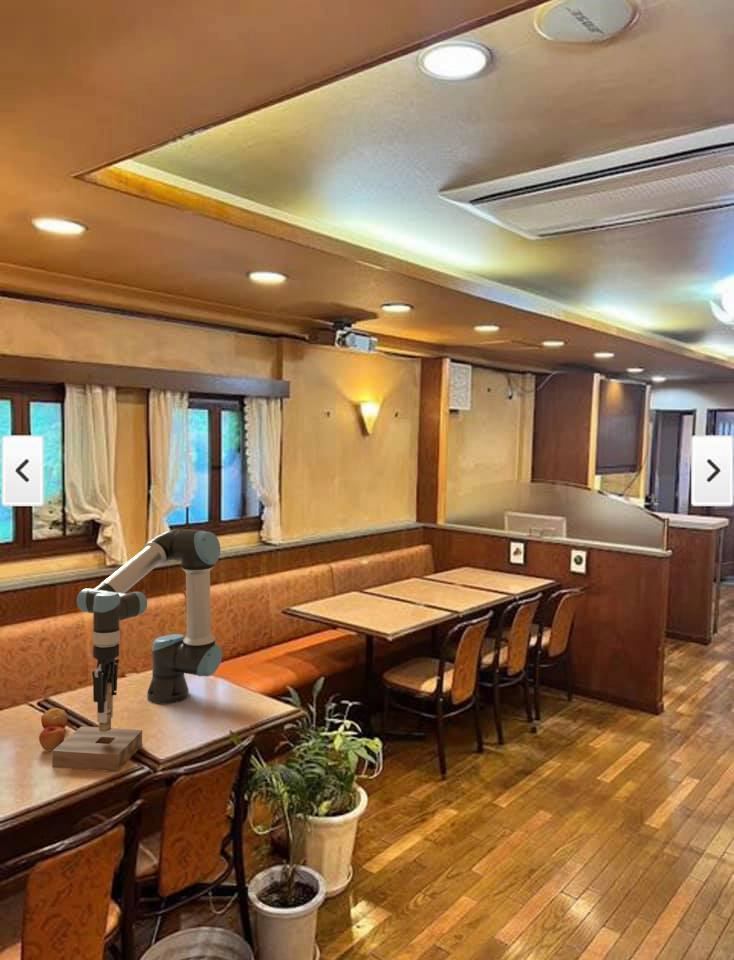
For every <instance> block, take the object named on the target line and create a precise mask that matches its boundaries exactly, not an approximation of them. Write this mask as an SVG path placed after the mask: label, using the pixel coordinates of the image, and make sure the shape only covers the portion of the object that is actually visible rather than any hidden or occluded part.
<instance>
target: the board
mask: <svg viewBox="0 0 734 960" xmlns="http://www.w3.org/2000/svg"><path fill="white" fill-rule="evenodd" d="M142 746H143V729H134V728H133V729H131V728H129V729H128V728H118V727H117V728H115V727H111V730H109V731H105V732H102V731H99V727H98V726H85V725H84V726H83V725H82V726H80V727H79V728H78V729H77V730H76V731H74V732H73V733H72V734H71V735H70V736H68V737H67V738H66V739H64V741H63V742H62V743H61V744H60V745H59V746H57V747H56V748H55V749H54V750H51V751H52V753H51V754H52V755H51V757H52V758H51V760H52V762H51V767H52V768H56V769H57V768H58V769H71V768H74V770H86V769H91V770H90V771H101V770H106V772H116V773H118V772H119V771H121V769H122V768H123V767H124V766H125V764H126V763H128V761H129V760H130V759H131V758H132V757H133V756H134V755H135V754H136V753H137V752H138V751H139V749H140V748H141V747H142ZM75 768H77V769H75Z"/></svg>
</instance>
